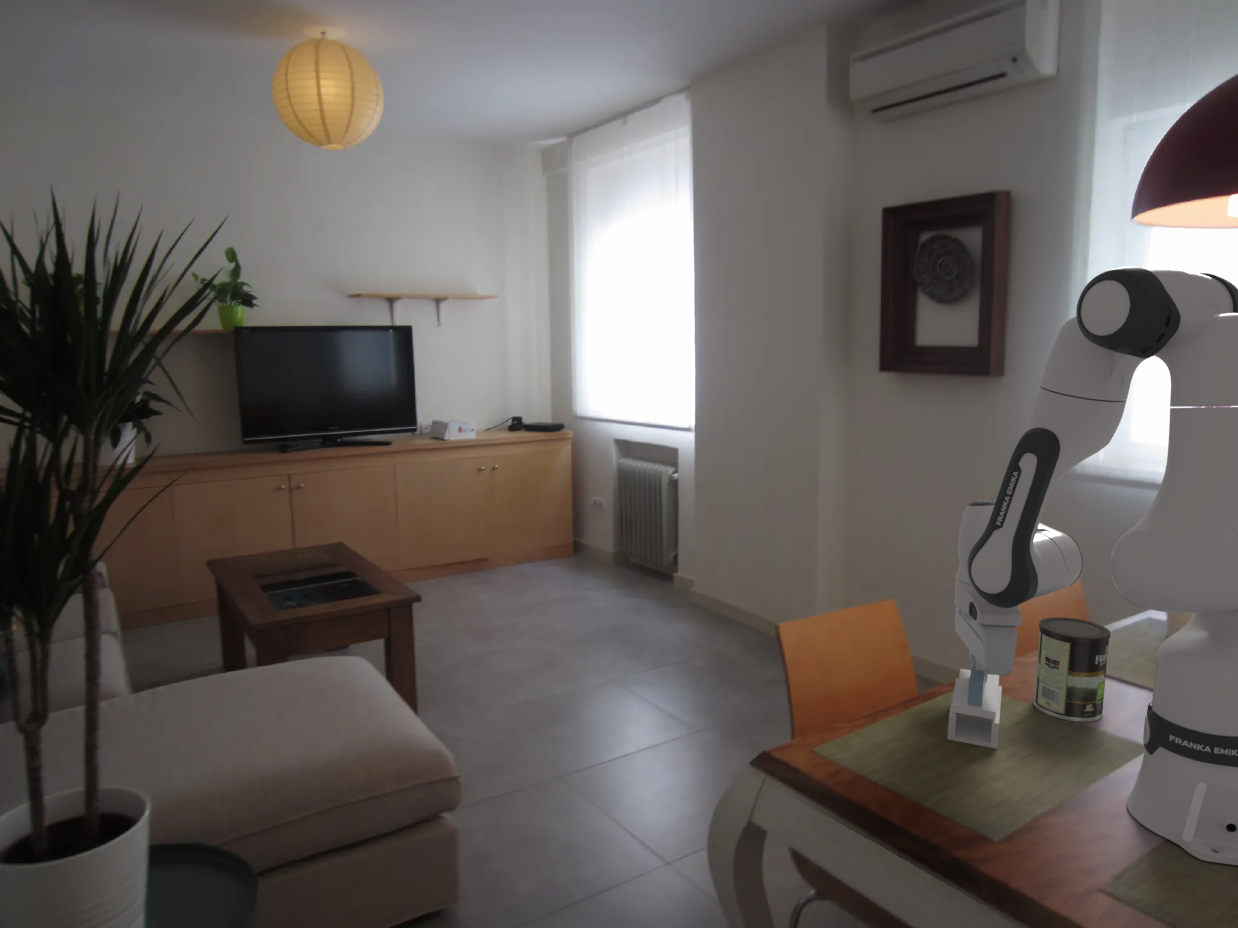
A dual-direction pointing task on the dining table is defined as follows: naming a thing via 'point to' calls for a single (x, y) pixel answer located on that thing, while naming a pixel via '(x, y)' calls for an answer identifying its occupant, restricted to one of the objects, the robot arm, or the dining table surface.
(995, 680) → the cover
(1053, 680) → the coffee can
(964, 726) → the duct
